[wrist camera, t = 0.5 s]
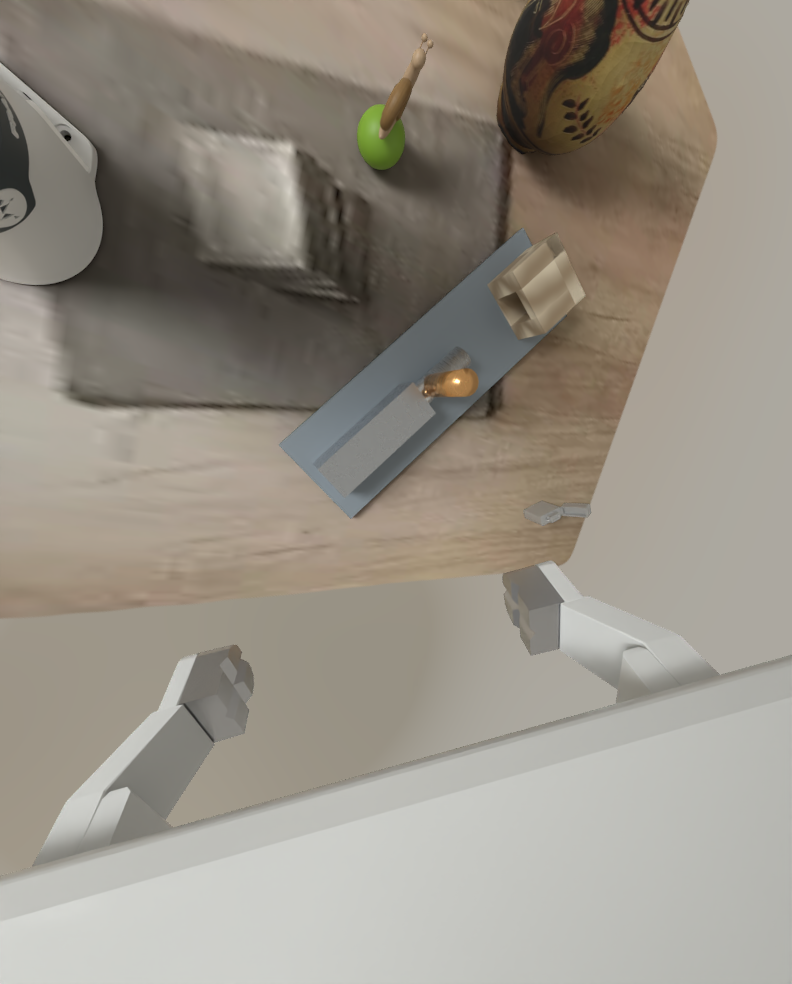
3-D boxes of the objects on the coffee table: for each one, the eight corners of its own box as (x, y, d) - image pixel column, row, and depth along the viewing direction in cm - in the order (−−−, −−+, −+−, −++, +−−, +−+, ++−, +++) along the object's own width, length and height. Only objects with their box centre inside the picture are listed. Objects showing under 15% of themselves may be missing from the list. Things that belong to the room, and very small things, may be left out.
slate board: (278, 444, 49) (279, 445, 48) (517, 231, 53) (523, 227, 52) (349, 516, 55) (350, 518, 53) (561, 317, 59) (566, 315, 58)
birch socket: (487, 284, 52) (512, 271, 47) (526, 249, 53) (556, 232, 48) (518, 339, 56) (545, 333, 51) (555, 305, 57) (585, 295, 51)
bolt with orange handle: (323, 464, 50) (339, 480, 39) (450, 348, 52) (497, 335, 41) (339, 481, 51) (359, 501, 41) (463, 367, 53) (511, 359, 43)
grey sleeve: (312, 463, 50) (317, 469, 45) (399, 383, 51) (413, 382, 47) (337, 489, 52) (344, 498, 47) (420, 412, 53) (435, 413, 49)
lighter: (525, 518, 65) (558, 533, 58) (523, 510, 65) (556, 524, 57) (557, 502, 67) (594, 514, 60) (555, 493, 66) (592, 504, 59)
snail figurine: (407, 142, 46) (452, 61, 35) (382, 190, 47) (420, 124, 36) (369, 105, 44) (405, 7, 33) (344, 156, 44) (371, 75, 33)
